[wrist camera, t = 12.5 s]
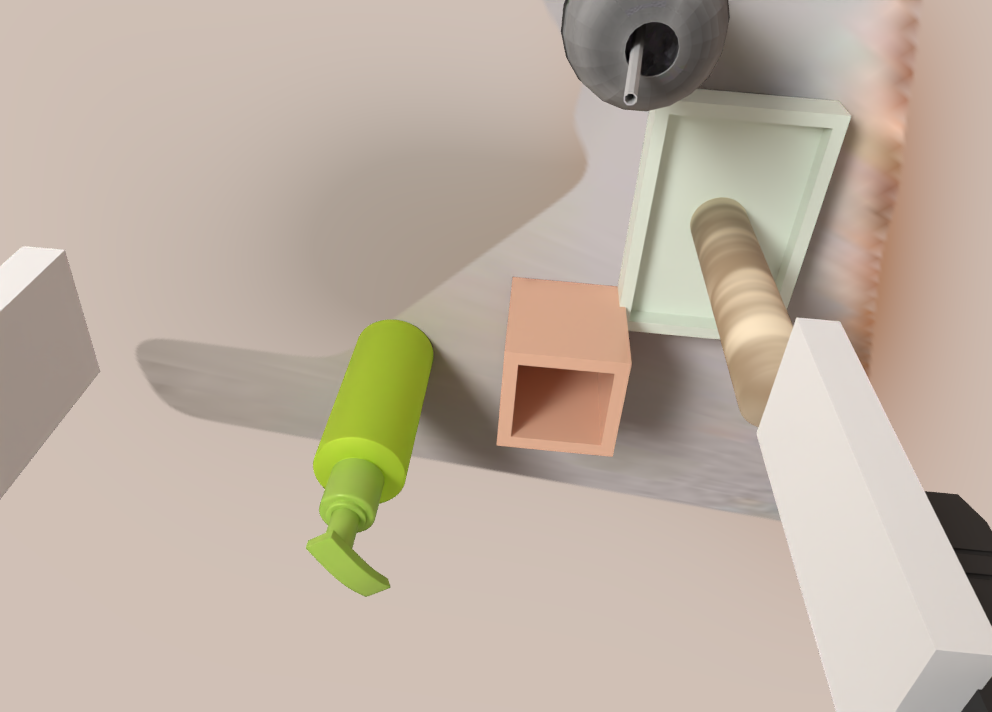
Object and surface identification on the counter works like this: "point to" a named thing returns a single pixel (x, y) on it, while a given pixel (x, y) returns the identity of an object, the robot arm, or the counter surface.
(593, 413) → the pot
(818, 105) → the tray
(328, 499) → the soap dispenser
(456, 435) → the counter surface
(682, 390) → the counter surface
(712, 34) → the beverage cup
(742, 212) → the dowel
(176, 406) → the counter surface
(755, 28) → the counter surface
